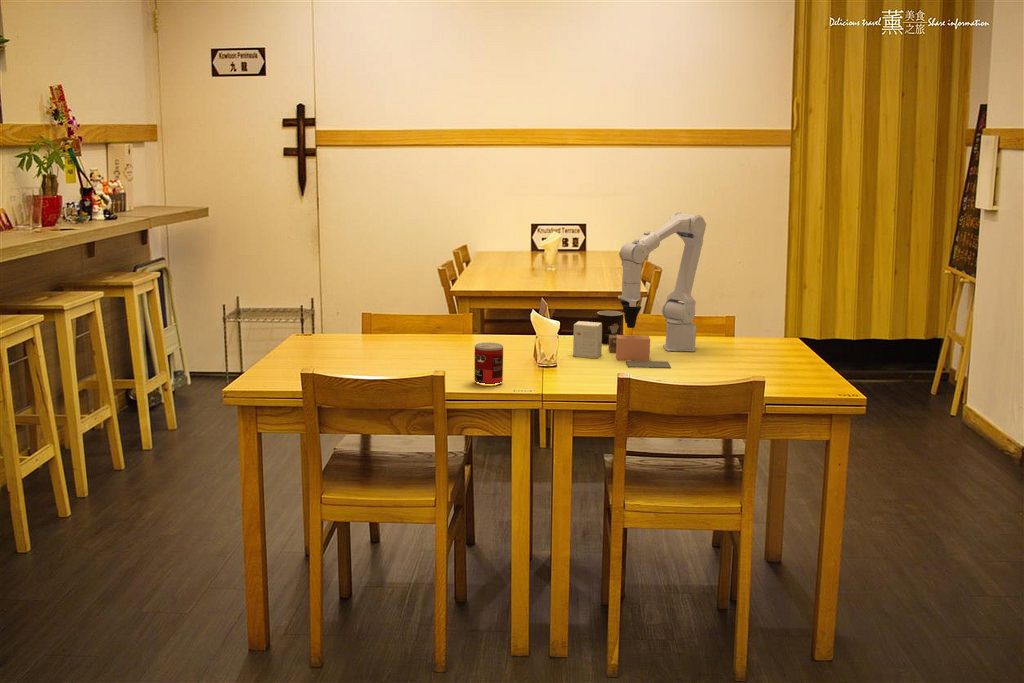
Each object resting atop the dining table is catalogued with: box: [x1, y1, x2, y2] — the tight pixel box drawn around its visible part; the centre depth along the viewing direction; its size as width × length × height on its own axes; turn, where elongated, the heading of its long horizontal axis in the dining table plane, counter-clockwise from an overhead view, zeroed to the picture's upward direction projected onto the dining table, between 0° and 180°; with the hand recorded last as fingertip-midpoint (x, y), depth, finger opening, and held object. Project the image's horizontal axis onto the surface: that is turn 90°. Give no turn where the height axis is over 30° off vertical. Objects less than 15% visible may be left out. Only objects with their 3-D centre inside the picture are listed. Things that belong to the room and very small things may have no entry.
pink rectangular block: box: [615, 334, 651, 361], centre depth 324 cm, size 10×5×7 cm, turn 89°
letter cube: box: [608, 334, 626, 354], centre depth 334 cm, size 5×5×5 cm
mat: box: [625, 360, 672, 369], centre depth 317 cm, size 13×7×1 cm, turn 89°
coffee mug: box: [587, 310, 624, 346], centre depth 346 cm, size 12×9×10 cm
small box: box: [572, 320, 603, 359], centre depth 327 cm, size 8×6×10 cm
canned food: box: [474, 342, 504, 384], centre depth 292 cm, size 8×8×11 cm
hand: (629, 325), depth 324 cm, fingers open, 7 cm apart
